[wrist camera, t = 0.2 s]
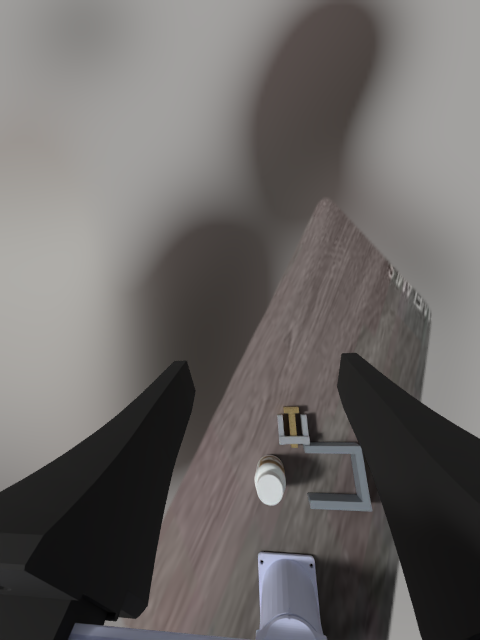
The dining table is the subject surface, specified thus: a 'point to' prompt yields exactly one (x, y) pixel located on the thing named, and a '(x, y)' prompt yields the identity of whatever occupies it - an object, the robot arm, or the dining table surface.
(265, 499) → the pill bottle
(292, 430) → the lock bar
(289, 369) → the dining table surface
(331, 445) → the dock bay
